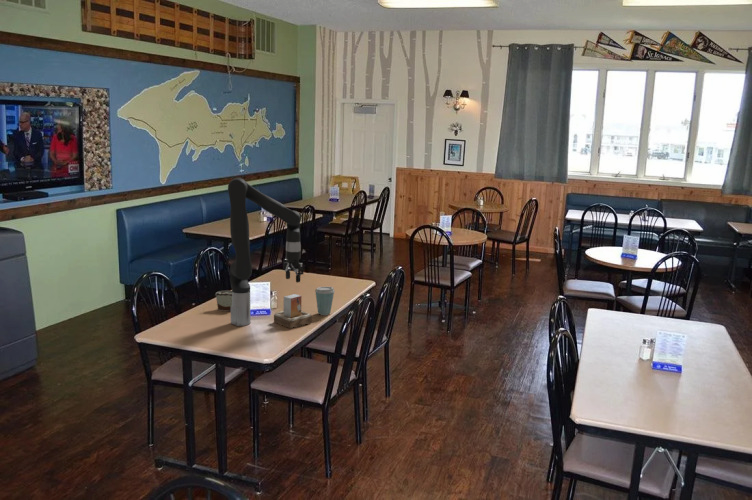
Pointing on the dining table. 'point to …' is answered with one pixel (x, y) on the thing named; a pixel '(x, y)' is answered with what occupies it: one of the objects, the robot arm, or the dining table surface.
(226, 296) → the food container
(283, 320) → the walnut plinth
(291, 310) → the small box
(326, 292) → the disposable coffee cup
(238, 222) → the robot arm
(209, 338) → the dining table surface
